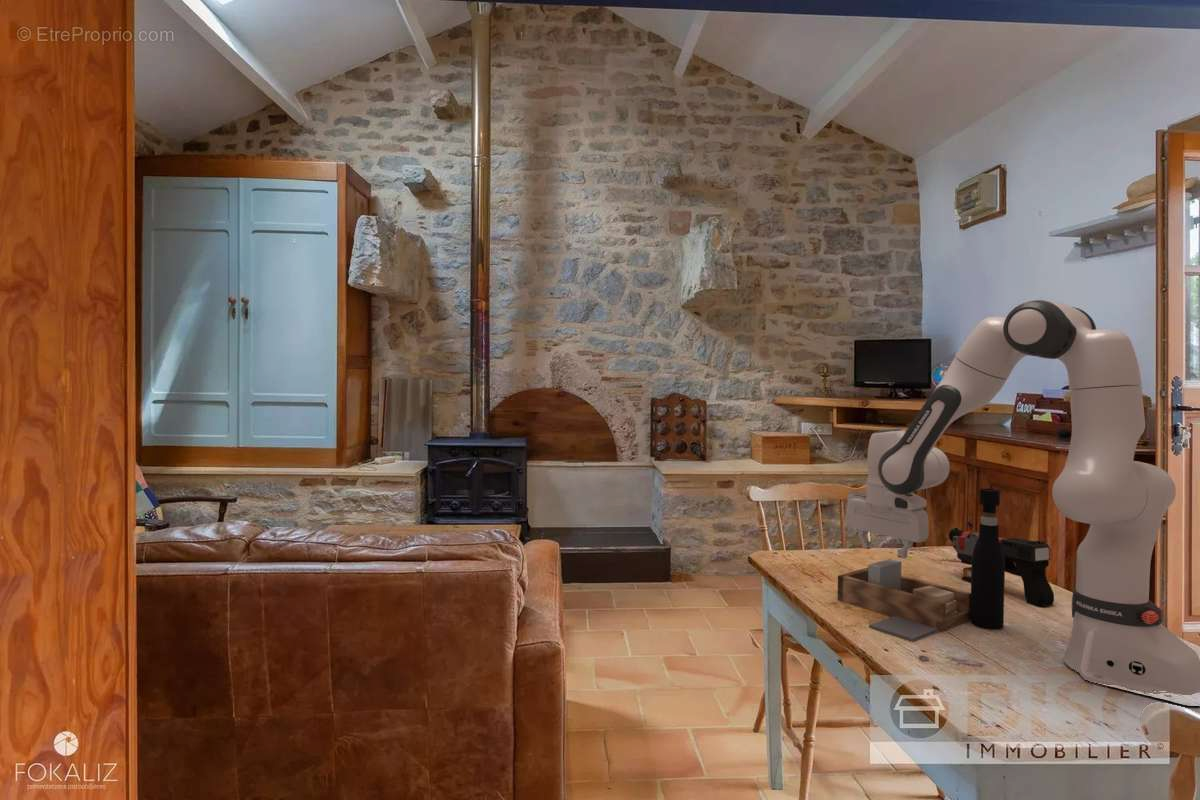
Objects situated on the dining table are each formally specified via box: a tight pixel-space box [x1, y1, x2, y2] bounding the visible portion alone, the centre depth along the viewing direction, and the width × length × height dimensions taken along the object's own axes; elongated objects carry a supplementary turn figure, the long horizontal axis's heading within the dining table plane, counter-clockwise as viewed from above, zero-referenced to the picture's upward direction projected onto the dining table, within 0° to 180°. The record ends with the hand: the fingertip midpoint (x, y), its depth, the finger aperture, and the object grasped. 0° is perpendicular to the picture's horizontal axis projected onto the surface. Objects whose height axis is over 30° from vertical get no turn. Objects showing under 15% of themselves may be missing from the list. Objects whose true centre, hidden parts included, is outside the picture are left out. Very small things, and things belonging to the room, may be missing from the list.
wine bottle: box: [969, 488, 1006, 631], centre depth 154 cm, size 6×6×30 cm
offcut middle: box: [945, 600, 957, 617], centre depth 158 cm, size 7×7×2 cm
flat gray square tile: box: [868, 616, 939, 642], centre depth 151 cm, size 10×10×1 cm
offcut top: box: [913, 586, 954, 603], centre depth 158 cm, size 6×6×2 cm
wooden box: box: [837, 567, 971, 632], centre depth 164 cm, size 26×13×6 cm, turn 36°
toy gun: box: [948, 526, 1055, 608], centre depth 179 cm, size 6×28×15 cm, turn 18°
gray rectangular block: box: [867, 558, 902, 591], centre depth 168 cm, size 3×9×10 cm, turn 126°
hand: (884, 552), depth 168 cm, fingers open, 8 cm apart
